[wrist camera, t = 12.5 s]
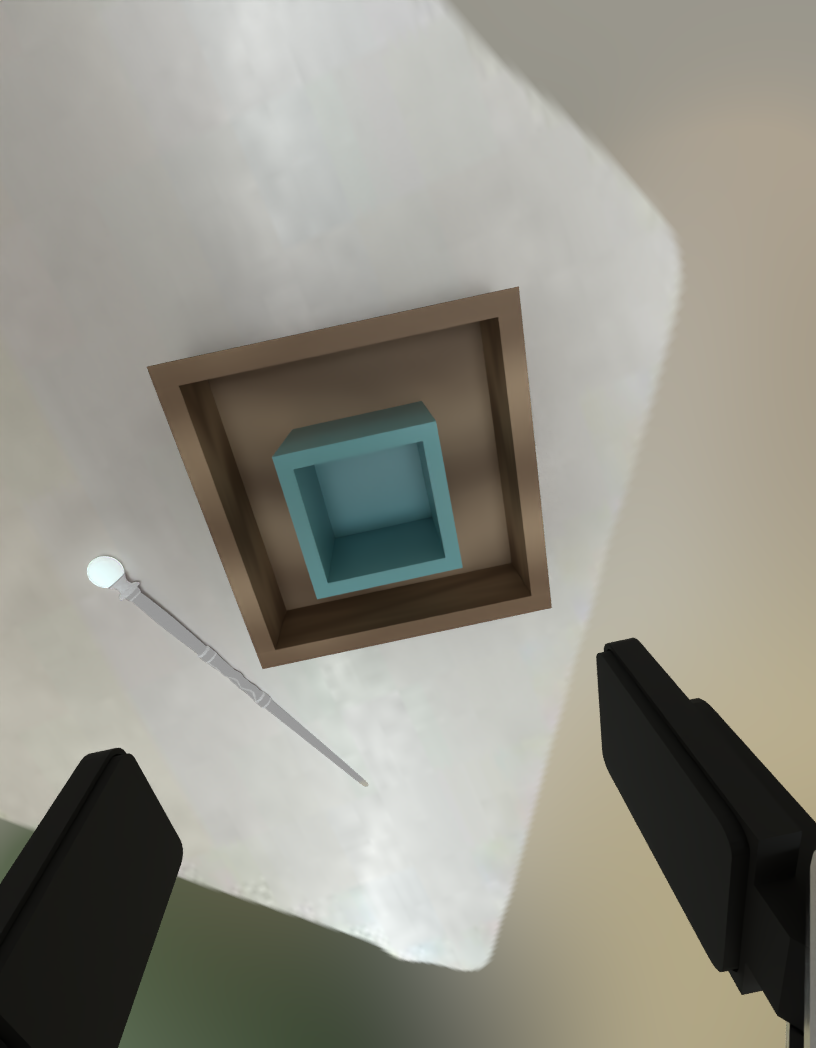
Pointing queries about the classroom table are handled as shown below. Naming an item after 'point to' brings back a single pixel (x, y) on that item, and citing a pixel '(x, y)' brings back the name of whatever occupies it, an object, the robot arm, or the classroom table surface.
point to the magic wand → (199, 648)
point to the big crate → (352, 389)
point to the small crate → (369, 499)
